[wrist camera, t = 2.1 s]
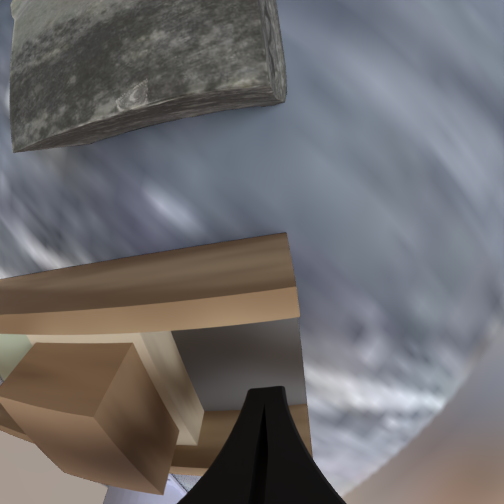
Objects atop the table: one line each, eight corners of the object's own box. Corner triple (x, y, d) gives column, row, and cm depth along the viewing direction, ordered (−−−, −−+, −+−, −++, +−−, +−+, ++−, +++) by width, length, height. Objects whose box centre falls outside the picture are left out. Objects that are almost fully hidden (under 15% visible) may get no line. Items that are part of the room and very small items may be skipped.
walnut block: (179, 430, 13) (163, 495, 10) (88, 421, 14) (64, 472, 10) (132, 342, 11) (93, 417, 8) (36, 342, 12) (-7, 394, 8)
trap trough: (307, 408, 16) (313, 471, 12) (15, 394, 19) (-7, 427, 15) (286, 232, 12) (296, 286, 8) (-45, 287, 15) (-79, 315, 11)
